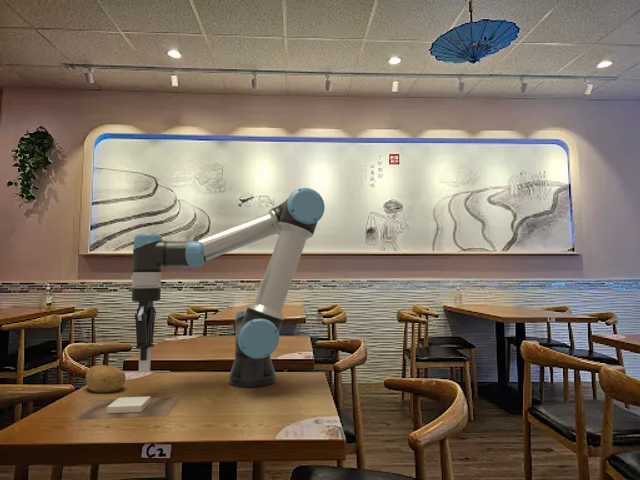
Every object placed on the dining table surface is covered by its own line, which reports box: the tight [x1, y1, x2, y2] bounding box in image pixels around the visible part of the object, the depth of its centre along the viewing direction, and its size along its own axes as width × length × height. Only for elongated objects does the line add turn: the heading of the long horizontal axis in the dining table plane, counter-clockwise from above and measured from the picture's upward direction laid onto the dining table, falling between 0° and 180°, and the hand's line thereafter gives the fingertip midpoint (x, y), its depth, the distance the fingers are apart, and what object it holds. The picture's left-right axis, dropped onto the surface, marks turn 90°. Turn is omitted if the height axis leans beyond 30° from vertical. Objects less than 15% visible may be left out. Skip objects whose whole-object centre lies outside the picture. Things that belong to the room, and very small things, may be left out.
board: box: [69, 396, 182, 421], centre depth 104 cm, size 22×16×1 cm
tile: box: [107, 395, 152, 413], centre depth 103 cm, size 8×2×8 cm
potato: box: [85, 364, 126, 394], centre depth 121 cm, size 10×14×8 cm
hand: (144, 371), depth 114 cm, fingers closed
